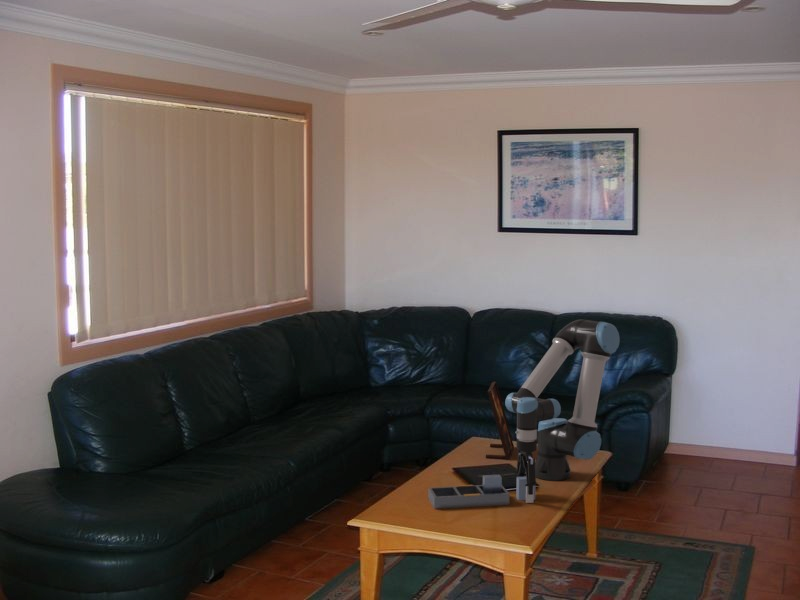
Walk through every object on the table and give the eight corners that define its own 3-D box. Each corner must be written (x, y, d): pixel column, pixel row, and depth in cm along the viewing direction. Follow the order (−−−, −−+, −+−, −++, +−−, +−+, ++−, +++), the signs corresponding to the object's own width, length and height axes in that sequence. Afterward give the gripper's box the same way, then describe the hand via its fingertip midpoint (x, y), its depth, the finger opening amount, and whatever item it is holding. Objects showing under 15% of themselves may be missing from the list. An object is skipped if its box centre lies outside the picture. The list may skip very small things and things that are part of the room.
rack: (500, 494, 344) (501, 471, 343) (509, 504, 332) (509, 480, 331) (428, 498, 339) (428, 474, 338) (434, 508, 328) (434, 484, 327)
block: (532, 496, 341) (533, 476, 341) (535, 499, 338) (535, 478, 337) (516, 497, 340) (516, 477, 340) (518, 500, 337) (519, 479, 336)
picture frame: (510, 460, 389) (510, 391, 386) (485, 459, 391) (486, 390, 388) (513, 447, 410) (514, 382, 406) (490, 446, 412) (491, 381, 408)
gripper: (508, 432, 347) (507, 489, 349) (525, 447, 325) (524, 508, 328) (527, 431, 348) (526, 488, 351) (545, 446, 327) (544, 507, 329)
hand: (525, 498), depth 339 cm, fingers open, 9 cm apart
